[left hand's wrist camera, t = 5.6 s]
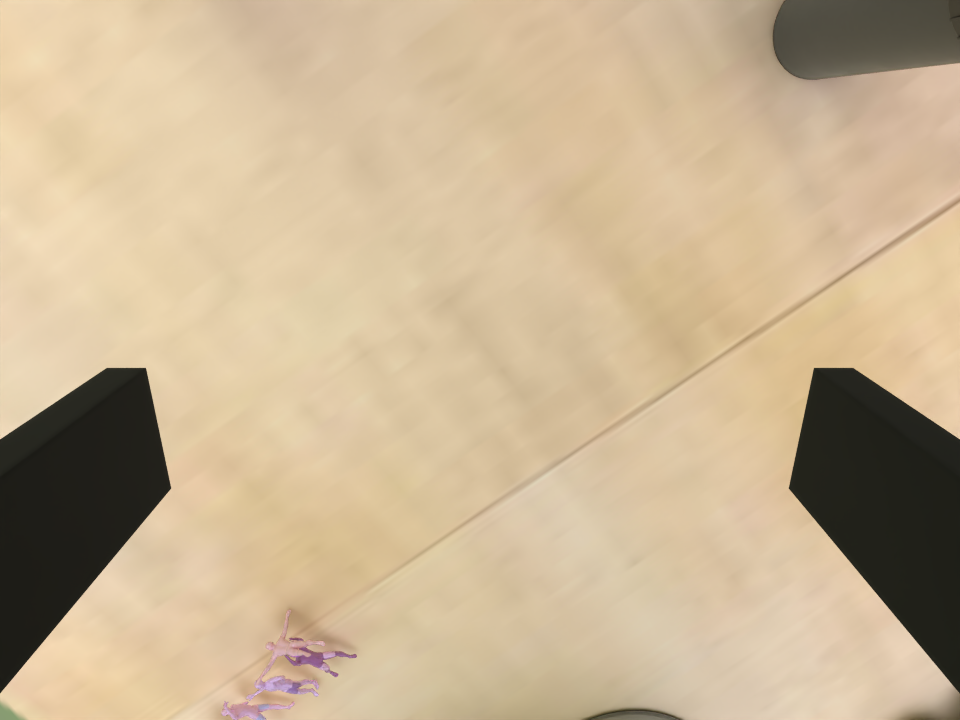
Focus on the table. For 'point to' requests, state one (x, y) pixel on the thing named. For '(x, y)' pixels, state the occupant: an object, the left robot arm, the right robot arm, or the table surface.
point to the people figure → (280, 682)
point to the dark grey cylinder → (863, 36)
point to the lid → (955, 15)
